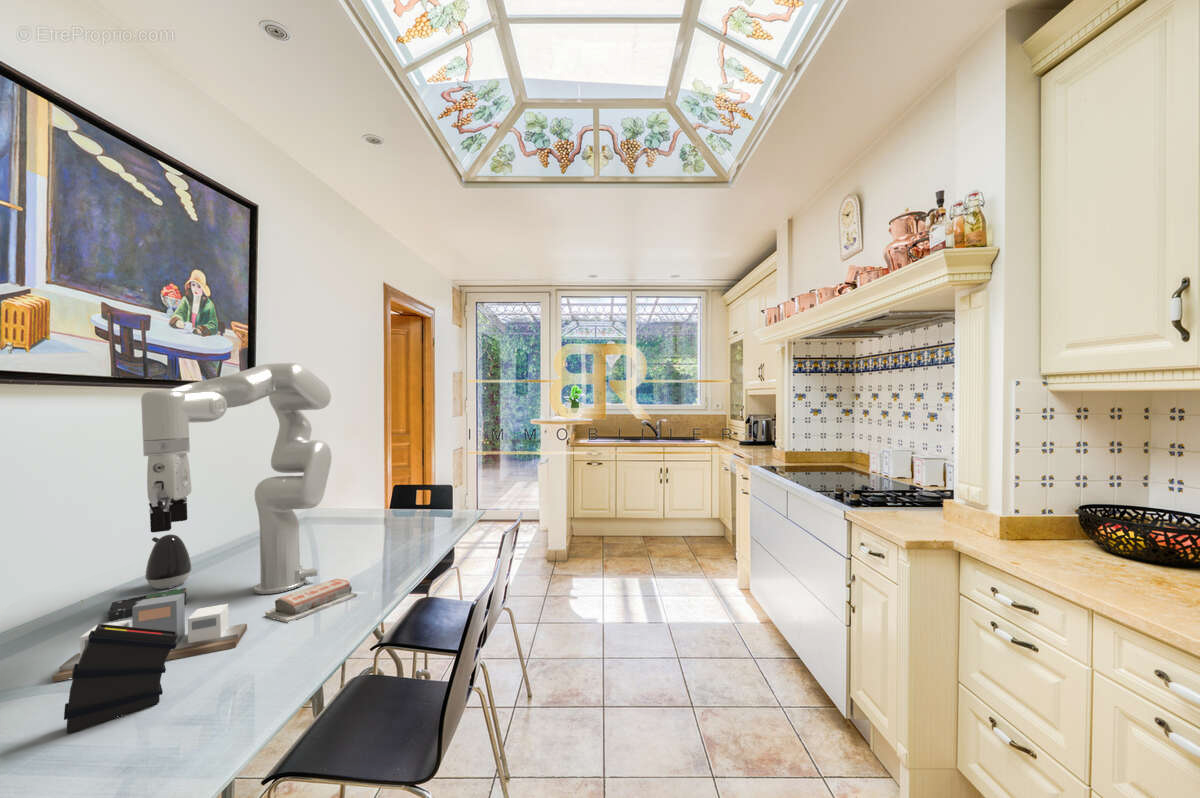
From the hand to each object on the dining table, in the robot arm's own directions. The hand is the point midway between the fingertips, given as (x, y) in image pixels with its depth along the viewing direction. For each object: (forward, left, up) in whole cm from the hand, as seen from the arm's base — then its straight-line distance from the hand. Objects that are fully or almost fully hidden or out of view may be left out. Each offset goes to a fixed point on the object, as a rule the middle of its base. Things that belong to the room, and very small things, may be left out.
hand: (170, 526), depth 105 cm
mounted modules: (+1, +4, -24) cm, 24 cm away
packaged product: (-25, -10, -26) cm, 38 cm away
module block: (+1, +4, -24) cm, 24 cm away
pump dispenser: (+16, -50, -26) cm, 59 cm away
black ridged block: (-2, +28, -26) cm, 38 cm away
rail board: (+1, +4, -26) cm, 26 cm away
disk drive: (+14, -31, -26) cm, 43 cm away
